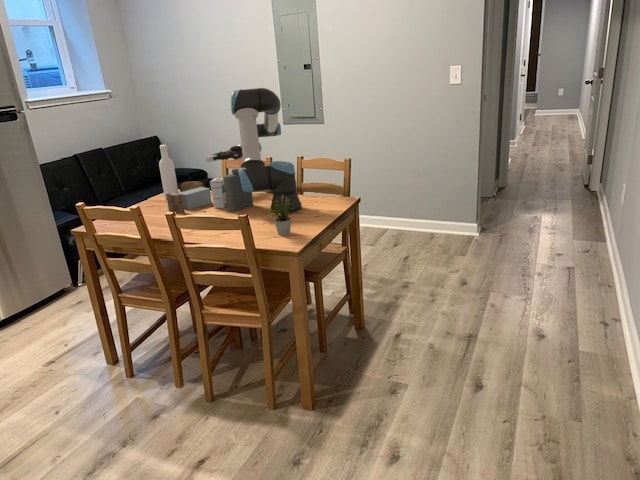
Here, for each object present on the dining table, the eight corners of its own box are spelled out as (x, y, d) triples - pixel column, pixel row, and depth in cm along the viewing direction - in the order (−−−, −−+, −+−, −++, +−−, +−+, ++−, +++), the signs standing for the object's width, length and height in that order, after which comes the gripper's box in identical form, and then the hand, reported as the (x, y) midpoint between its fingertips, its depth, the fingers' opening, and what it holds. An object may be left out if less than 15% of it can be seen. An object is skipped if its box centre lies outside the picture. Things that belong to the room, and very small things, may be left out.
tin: (180, 196, 288) (178, 182, 285) (183, 195, 290) (180, 181, 288) (204, 196, 284) (202, 181, 281) (207, 195, 287) (204, 180, 284)
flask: (248, 204, 261) (243, 165, 254) (255, 205, 257) (251, 166, 250) (224, 211, 251) (219, 171, 245) (231, 212, 247) (226, 172, 241)
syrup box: (224, 208, 256) (220, 180, 252) (213, 208, 258) (209, 180, 253) (228, 205, 262) (224, 177, 257) (217, 205, 263) (214, 178, 258)
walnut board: (184, 211, 255) (181, 194, 252) (181, 212, 254) (178, 195, 251) (172, 209, 261) (169, 192, 258) (168, 210, 259) (165, 193, 256)
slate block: (211, 203, 269) (209, 188, 266) (188, 210, 259) (185, 194, 256) (203, 201, 274) (200, 186, 272) (179, 207, 264) (176, 193, 261)
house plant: (266, 228, 219) (262, 192, 213) (298, 225, 219) (295, 189, 214) (265, 239, 205) (261, 200, 200) (299, 236, 206) (296, 197, 200)
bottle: (161, 199, 283) (152, 146, 273) (170, 196, 290) (161, 143, 280) (173, 200, 280) (164, 146, 270) (182, 196, 287) (173, 143, 277)
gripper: (248, 159, 283) (216, 167, 265) (231, 157, 291) (199, 165, 273) (246, 145, 280) (214, 153, 263) (229, 144, 288) (197, 152, 271)
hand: (207, 159), depth 268 cm, fingers closed
